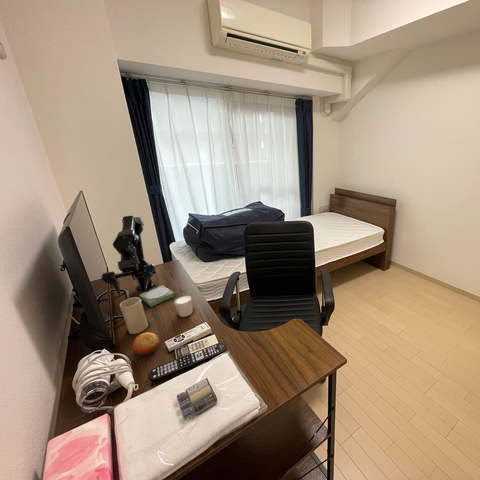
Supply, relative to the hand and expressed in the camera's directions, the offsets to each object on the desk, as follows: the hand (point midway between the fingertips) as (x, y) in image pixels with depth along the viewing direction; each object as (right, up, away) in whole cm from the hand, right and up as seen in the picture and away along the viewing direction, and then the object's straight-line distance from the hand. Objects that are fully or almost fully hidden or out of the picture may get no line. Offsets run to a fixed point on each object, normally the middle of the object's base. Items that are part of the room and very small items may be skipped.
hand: (132, 291), depth 107 cm
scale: (-2, -7, +20) cm, 21 cm away
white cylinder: (+19, -11, +8) cm, 23 cm away
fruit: (+16, -20, -13) cm, 28 cm away
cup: (+4, -15, -2) cm, 16 cm away
